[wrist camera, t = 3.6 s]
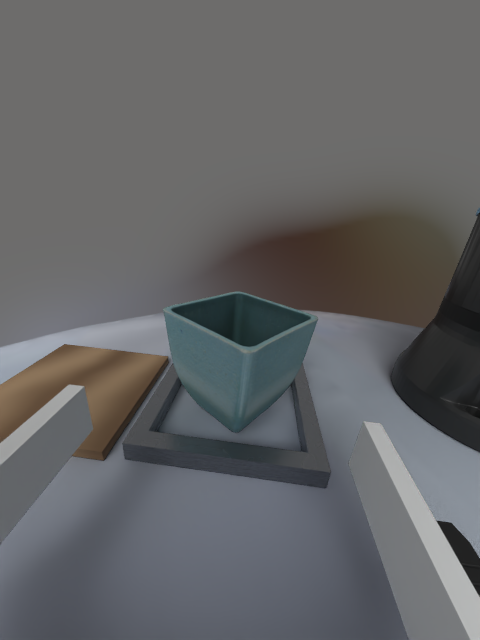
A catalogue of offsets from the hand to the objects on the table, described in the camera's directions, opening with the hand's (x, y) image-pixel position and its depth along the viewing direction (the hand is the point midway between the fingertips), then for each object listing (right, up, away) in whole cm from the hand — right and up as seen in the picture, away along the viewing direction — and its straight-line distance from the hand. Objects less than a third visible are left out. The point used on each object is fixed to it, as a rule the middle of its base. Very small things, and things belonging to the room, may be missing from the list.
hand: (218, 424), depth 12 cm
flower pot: (+1, -3, +11) cm, 11 cm away
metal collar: (+1, -3, +11) cm, 11 cm away
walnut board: (-13, -1, +10) cm, 17 cm away
